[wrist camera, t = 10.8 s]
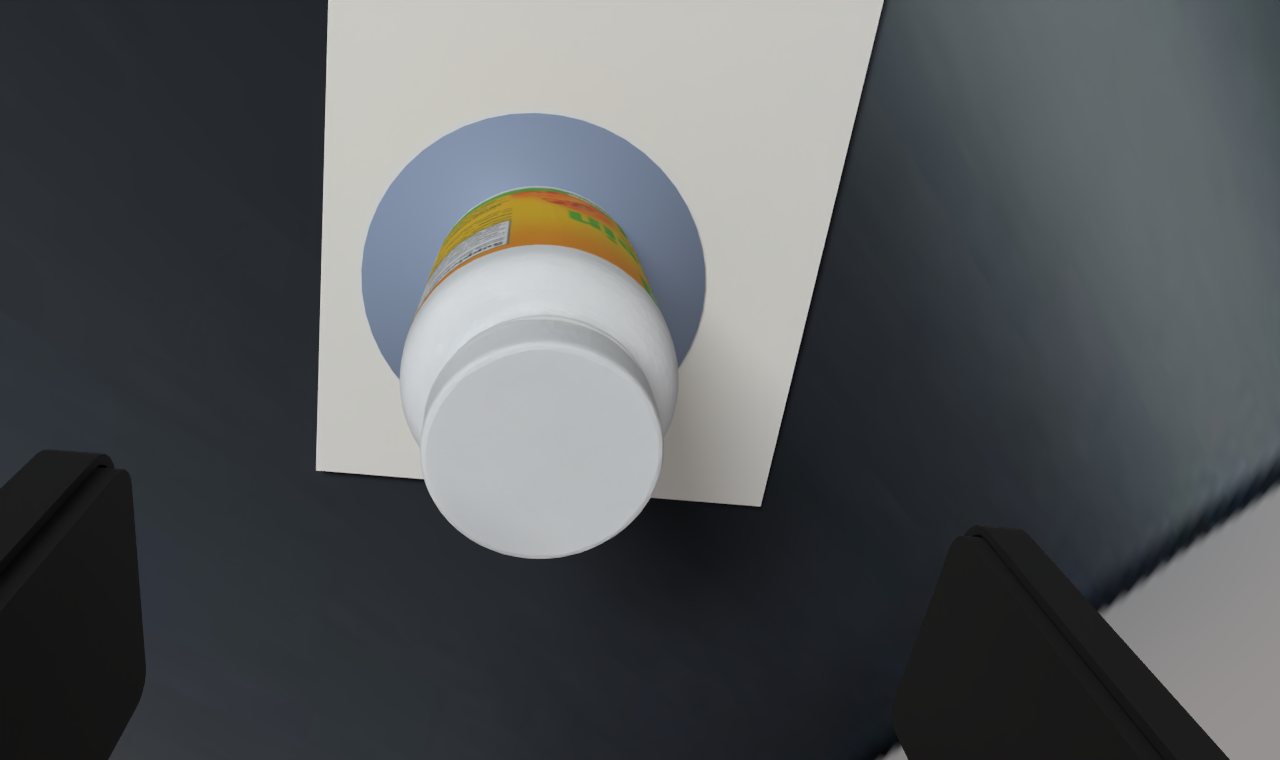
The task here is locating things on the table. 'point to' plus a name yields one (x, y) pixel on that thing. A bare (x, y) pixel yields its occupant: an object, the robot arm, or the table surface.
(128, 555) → the robot arm
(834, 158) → the paper sheet
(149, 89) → the table surface
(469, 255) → the supplement bottle
